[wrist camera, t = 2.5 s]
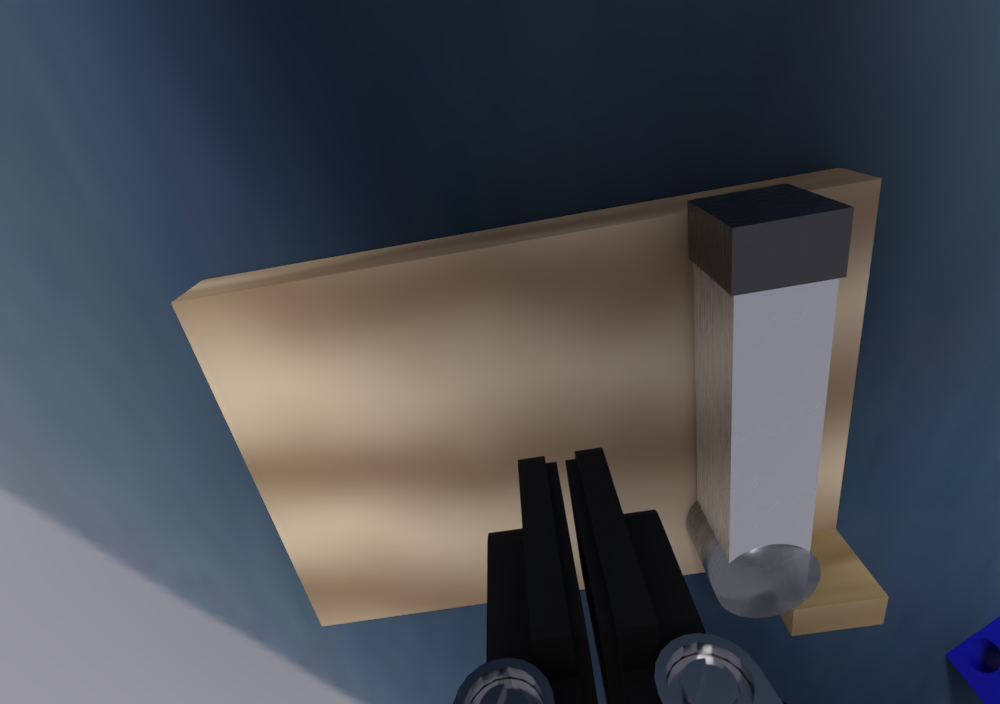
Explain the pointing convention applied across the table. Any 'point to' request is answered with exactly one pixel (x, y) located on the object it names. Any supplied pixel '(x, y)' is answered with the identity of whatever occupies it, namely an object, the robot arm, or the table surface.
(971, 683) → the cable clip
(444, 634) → the table surface
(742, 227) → the folding leg
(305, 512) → the stool seat
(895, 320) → the table surface
